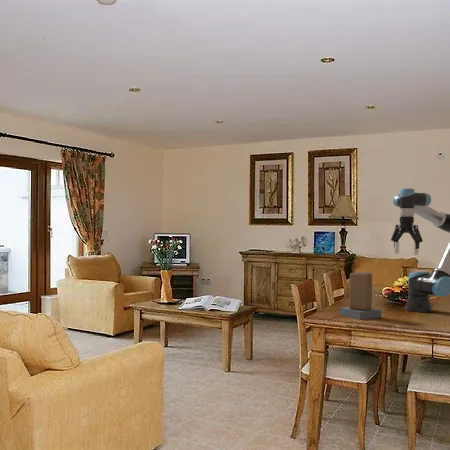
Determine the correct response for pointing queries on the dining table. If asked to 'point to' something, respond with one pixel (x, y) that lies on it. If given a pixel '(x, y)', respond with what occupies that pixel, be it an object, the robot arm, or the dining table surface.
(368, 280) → the wooden block
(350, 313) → the charcoal plinth
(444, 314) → the dining table surface
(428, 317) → the dining table surface
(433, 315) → the dining table surface
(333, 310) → the dining table surface
